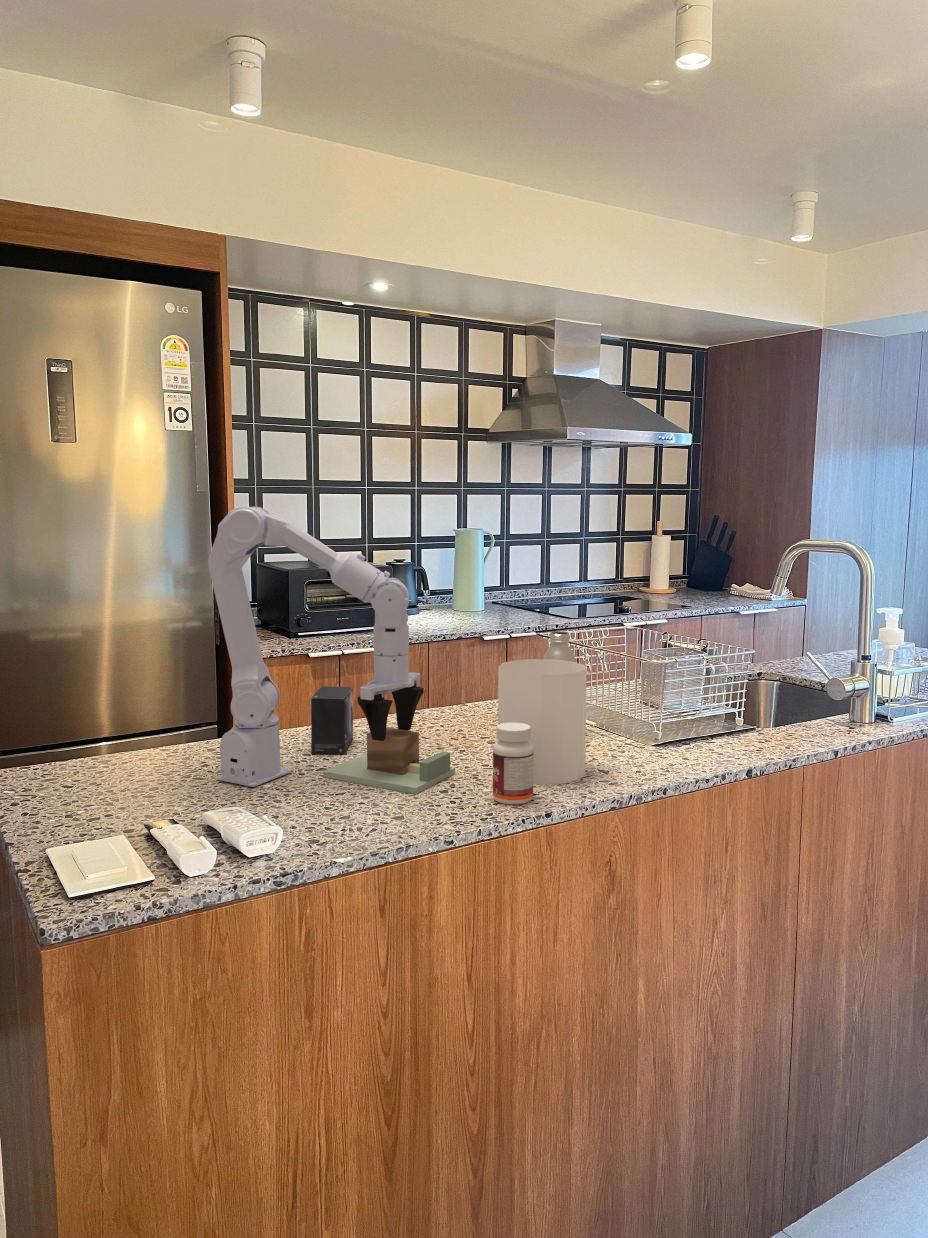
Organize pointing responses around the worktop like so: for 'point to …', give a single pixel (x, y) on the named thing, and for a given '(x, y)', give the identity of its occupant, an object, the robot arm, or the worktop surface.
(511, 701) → the container
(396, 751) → the brown block
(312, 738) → the small box
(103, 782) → the worktop surface
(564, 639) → the plastic bottle
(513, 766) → the pill bottle
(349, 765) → the wall board
